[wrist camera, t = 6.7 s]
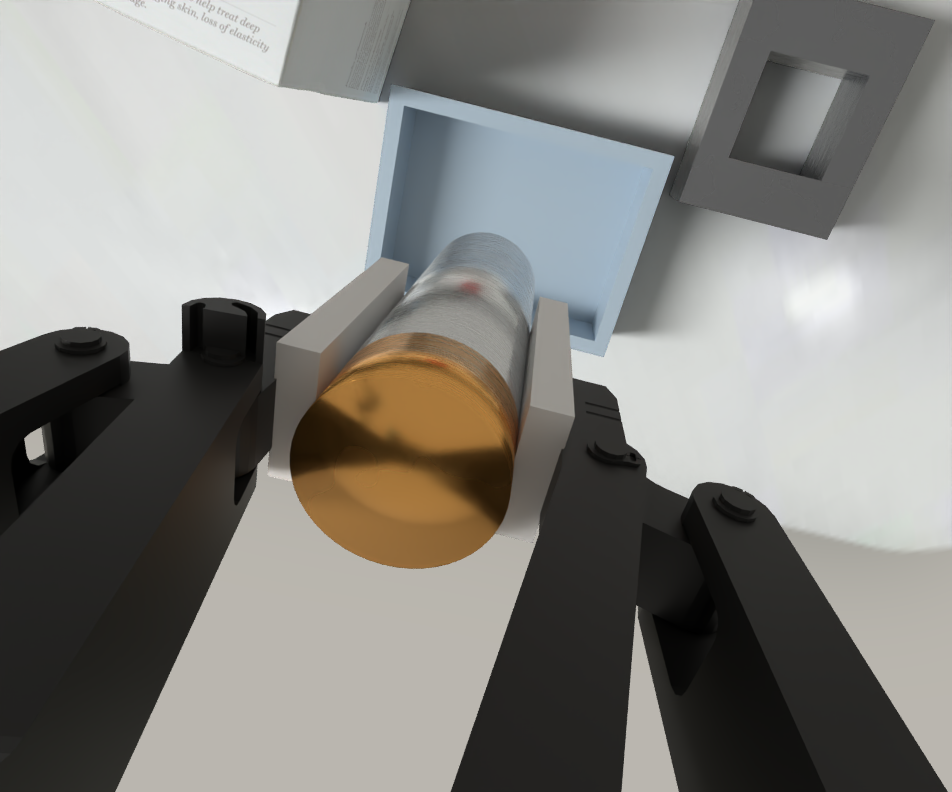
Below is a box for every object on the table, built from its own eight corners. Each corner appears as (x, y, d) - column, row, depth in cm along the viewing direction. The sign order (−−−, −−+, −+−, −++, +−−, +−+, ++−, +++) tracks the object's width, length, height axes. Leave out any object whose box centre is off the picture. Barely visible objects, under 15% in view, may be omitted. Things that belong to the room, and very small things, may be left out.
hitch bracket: (669, 195, 34) (679, 201, 31) (742, -10, 29) (761, -23, 27) (805, 230, 34) (827, 239, 31) (900, 29, 29) (935, 20, 26)
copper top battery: (422, 321, 21) (281, 538, 10) (441, 220, 19) (298, 351, 9) (520, 346, 21) (483, 590, 10) (547, 246, 19) (537, 411, 9)
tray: (379, 277, 38) (361, 294, 34) (409, 87, 33) (391, 84, 29) (599, 334, 38) (603, 357, 34) (661, 152, 33) (674, 156, 29)
